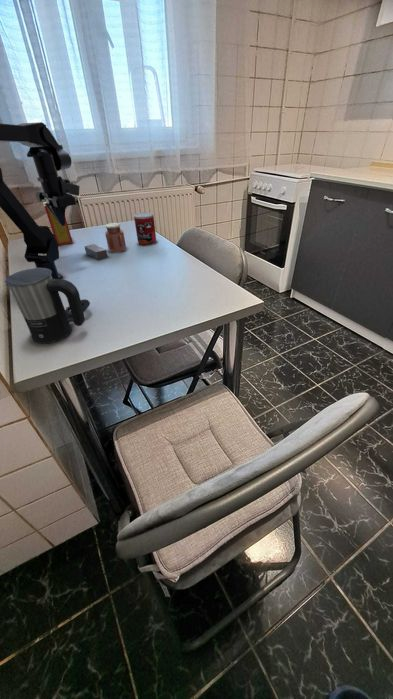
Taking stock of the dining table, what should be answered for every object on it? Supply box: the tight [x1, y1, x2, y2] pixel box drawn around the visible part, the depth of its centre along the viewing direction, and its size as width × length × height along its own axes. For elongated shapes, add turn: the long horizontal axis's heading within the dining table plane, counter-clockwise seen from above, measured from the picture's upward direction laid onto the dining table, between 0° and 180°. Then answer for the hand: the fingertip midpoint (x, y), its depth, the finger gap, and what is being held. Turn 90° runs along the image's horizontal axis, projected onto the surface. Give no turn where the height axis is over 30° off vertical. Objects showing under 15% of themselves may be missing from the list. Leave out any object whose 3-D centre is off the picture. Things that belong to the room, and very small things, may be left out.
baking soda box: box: [42, 201, 74, 247], centre depth 125 cm, size 10×6×16 cm
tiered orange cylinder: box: [104, 222, 127, 254], centre depth 116 cm, size 8×11×11 cm
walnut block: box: [83, 243, 109, 261], centre depth 113 cm, size 10×4×3 cm, turn 43°
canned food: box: [133, 212, 157, 246], centre depth 121 cm, size 8×8×11 cm
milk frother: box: [4, 267, 91, 344], centre depth 70 cm, size 14×16×15 cm
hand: (63, 225), depth 101 cm, fingers closed
